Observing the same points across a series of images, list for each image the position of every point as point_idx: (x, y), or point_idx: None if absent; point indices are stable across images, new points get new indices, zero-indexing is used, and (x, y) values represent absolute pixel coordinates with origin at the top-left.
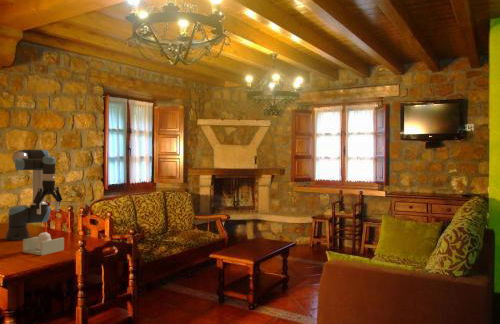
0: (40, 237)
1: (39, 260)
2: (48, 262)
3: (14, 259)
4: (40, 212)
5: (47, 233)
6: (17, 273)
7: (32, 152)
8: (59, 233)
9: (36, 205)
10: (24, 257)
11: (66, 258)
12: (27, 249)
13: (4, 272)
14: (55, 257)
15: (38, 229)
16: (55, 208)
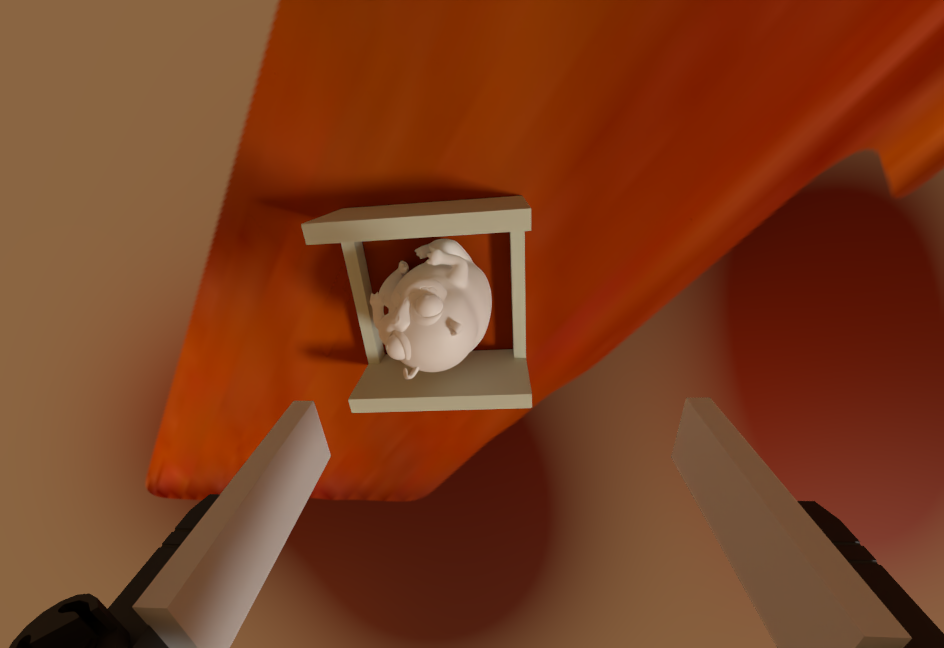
0: (385, 344)
1: None
2: (331, 473)
3: (240, 326)
4: (313, 478)
5: (437, 367)
6: (186, 496)
7: None
8: None
9: (141, 587)
10: (294, 331)
11: (417, 480)
12: (347, 253)
13: (151, 459)
14: (397, 438)
15: None
16: (712, 452)
